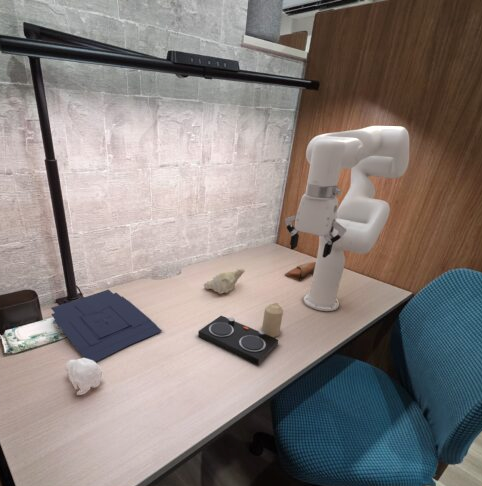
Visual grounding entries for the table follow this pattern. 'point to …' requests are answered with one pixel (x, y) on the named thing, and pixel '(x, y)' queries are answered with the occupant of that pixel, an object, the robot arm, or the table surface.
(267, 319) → the candle
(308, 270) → the sunglasses case
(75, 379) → the crumpled paper
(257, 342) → the hot plate
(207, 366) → the table surface
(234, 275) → the cream lumpy piece
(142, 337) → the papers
